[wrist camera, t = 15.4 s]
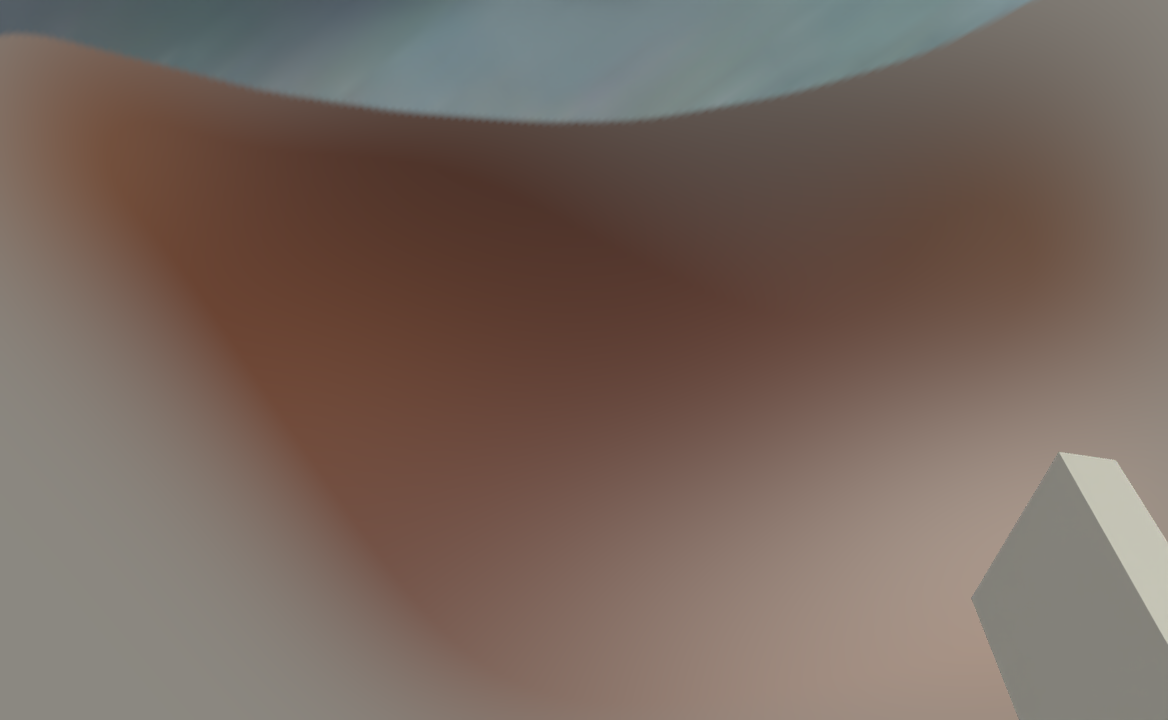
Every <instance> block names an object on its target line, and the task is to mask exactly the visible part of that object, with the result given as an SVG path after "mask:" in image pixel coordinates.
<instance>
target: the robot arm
mask: <svg viewBox="0 0 1168 720" xmlns="http://www.w3.org/2000/svg"><path fill="white" fill-rule="evenodd" d="M972 601H973V604H974V606H975V609H976V611H977V614H978V616H979V619H980V621H981V624H982V627H983V629H984V632H985V634H986V637H987V639H988V642H989V645H990V647H991V650H992V652H993V654H994V657H995V660H996V662H997V665H998V667H999V670H1000V673H1001V675H1002V677H1003V680H1004V683H1005V685H1006V688H1007V690H1008V693H1009V695H1010V698H1011V700H1012V703H1013V706H1014V708H1015V711H1016V713H1017V716H1018V718H1019V720H1168V543H1167V541H1166V539H1165V538H1164V536H1163V534H1162V533H1161V531H1160V530H1159V528H1158V526H1157V525H1156V523H1155V522H1154V520H1153V519H1152V517H1151V516H1150V514H1149V512H1148V511H1147V509H1146V507H1145V506H1144V504H1143V503H1142V501H1141V500H1140V498H1139V496H1138V495H1137V493H1136V491H1135V490H1134V488H1133V487H1132V485H1131V484H1130V482H1129V480H1128V479H1127V477H1126V476H1125V474H1124V472H1123V471H1122V469H1121V468H1120V466H1119V464H1118V463H1117V461H1116V460H1111V459H1104V458H1097V457H1089V456H1083V455H1076V454H1069V453H1062V452H1059V453H1058V454H1057V456H1056V458H1055V459H1054V461H1053V462H1052V464H1051V466H1050V467H1049V469H1048V471H1047V473H1046V474H1045V476H1044V477H1043V479H1042V481H1041V483H1040V484H1039V486H1038V488H1037V489H1036V491H1035V493H1034V494H1033V496H1032V498H1031V499H1030V501H1029V503H1028V504H1027V506H1026V508H1025V509H1024V511H1023V513H1022V514H1021V516H1020V518H1019V519H1018V521H1017V523H1016V524H1015V526H1014V528H1013V529H1012V531H1011V533H1010V534H1009V536H1008V538H1007V539H1006V541H1005V543H1004V544H1003V546H1002V548H1001V549H1000V551H999V553H998V554H997V556H996V558H995V559H994V561H993V563H992V564H991V566H990V568H989V569H988V571H987V573H986V574H985V576H984V578H983V579H982V581H981V583H980V585H979V586H978V588H977V589H976V591H975V593H974V595H973V596H972Z"/></svg>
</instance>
